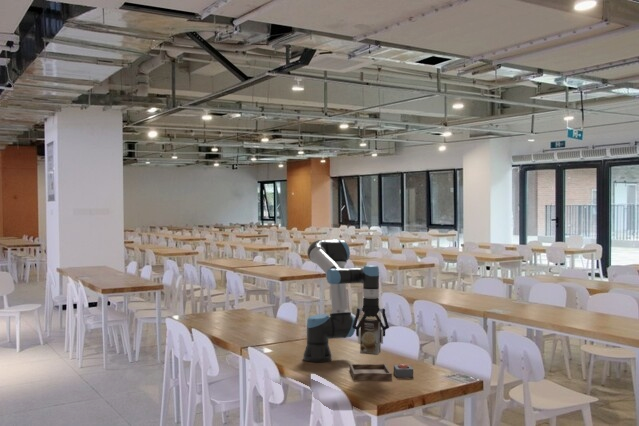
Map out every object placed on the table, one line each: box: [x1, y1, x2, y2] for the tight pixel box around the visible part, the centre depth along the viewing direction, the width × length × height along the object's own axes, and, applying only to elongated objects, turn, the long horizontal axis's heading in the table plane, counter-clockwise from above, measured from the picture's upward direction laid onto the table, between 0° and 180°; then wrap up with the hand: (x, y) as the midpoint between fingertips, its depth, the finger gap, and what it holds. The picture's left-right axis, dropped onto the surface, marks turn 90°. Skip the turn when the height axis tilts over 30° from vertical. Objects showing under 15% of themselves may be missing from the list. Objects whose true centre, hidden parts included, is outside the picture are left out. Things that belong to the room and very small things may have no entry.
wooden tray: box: [349, 363, 393, 381], centre depth 286 cm, size 18×18×3 cm
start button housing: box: [393, 364, 414, 379], centre depth 285 cm, size 8×8×4 cm
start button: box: [398, 363, 409, 368], centre depth 285 cm, size 4×4×3 cm
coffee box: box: [359, 318, 382, 356], centre depth 286 cm, size 9×6×16 cm
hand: (370, 343), depth 286 cm, fingers closed on coffee box, 10 cm apart
